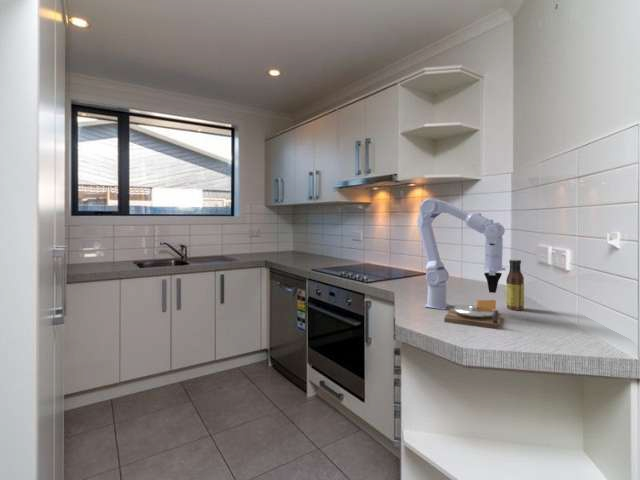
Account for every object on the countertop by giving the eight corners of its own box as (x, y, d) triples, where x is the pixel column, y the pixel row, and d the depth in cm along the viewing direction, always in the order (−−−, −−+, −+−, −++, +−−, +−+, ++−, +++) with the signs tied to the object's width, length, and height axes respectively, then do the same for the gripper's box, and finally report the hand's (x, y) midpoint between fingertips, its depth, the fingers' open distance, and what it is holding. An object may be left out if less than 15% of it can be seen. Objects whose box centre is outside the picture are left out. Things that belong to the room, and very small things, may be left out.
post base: (451, 311, 136) (451, 297, 136) (500, 317, 128) (501, 302, 128) (444, 321, 122) (444, 306, 122) (499, 329, 114) (499, 312, 114)
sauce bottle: (517, 307, 144) (519, 258, 143) (527, 310, 138) (529, 260, 137) (502, 307, 144) (503, 258, 143) (511, 310, 137) (512, 260, 136)
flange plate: (456, 306, 134) (456, 295, 134) (495, 310, 127) (496, 299, 127) (451, 314, 122) (451, 302, 122) (494, 319, 116) (494, 306, 116)
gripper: (505, 258, 121) (504, 297, 122) (506, 254, 134) (505, 290, 134) (482, 256, 124) (481, 294, 125) (485, 253, 137) (484, 288, 138)
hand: (492, 292), depth 130 cm, fingers closed
